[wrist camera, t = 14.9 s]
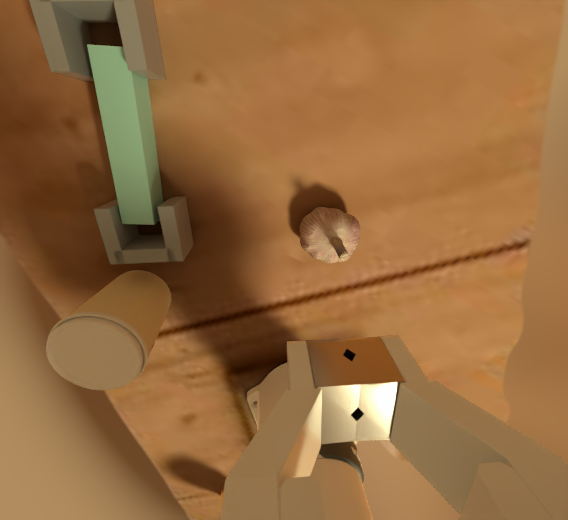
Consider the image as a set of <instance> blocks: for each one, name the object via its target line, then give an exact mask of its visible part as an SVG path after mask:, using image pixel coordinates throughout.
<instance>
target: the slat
mask: <svg viewBox="0 0 568 520" xmlns="http://www.w3.org/2000/svg"><path fill="white" fill-rule="evenodd" d="M87 47H88V52H89V58H90V63H91V68H92V73H93V78H94V83H95V88H96V93H97V98H98V103H99V109H100V114H101V119H102V124H103V129H104V134H105V139H106V144H107V149H108V155H109V160H110V165H111V170H112V175H113V180H114V185H115V190H116V195H117V200H118V206H119V211H120V216H121V221H122V224H146V225H155V224H156V223H157V222H158V221H159V220H160V217H159V213H158V208H157V207H158V206H159V205H161V204H162V203H164V202H163V194H162V187H161V179H160V171H159V164H158V156H157V148H156V141H155V133H154V125H153V118H152V110H151V102H150V95H149V87H148V79H147V78H145V77H143V76H140V75H138V74H136V73H134V72H131V71H129V70H128V67H127V62H126V58H125V53H124V48H123V47H119V46H104V45H89V44H87Z"/></svg>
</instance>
